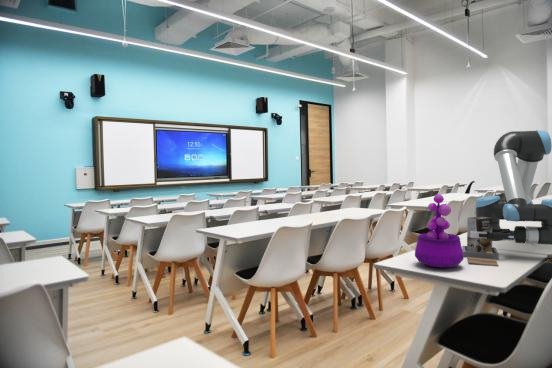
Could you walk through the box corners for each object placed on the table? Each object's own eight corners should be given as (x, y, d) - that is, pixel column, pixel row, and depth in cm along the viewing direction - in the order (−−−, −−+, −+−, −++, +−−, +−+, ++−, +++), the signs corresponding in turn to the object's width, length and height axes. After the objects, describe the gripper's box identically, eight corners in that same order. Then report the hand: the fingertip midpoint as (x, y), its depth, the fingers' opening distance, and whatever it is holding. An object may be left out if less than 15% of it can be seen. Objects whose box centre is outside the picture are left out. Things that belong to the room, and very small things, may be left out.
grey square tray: (462, 250, 193) (462, 244, 192) (495, 252, 187) (495, 246, 187) (463, 257, 180) (463, 250, 180) (498, 259, 174) (498, 252, 174)
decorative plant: (469, 264, 167) (469, 193, 165) (454, 274, 153) (455, 196, 151) (424, 258, 179) (424, 191, 178) (407, 266, 166) (407, 194, 164)
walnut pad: (467, 258, 178) (467, 256, 178) (495, 260, 173) (495, 258, 173) (468, 264, 168) (468, 262, 168) (498, 266, 163) (498, 264, 163)
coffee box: (478, 254, 178) (478, 219, 178) (466, 251, 184) (466, 217, 184) (492, 252, 182) (493, 217, 181) (480, 249, 188) (481, 215, 187)
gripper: (530, 248, 165) (471, 245, 174) (520, 238, 186) (468, 235, 195) (530, 230, 165) (471, 228, 174) (521, 222, 186) (468, 220, 195)
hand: (469, 232), depth 184 cm, fingers closed on coffee box, 10 cm apart
